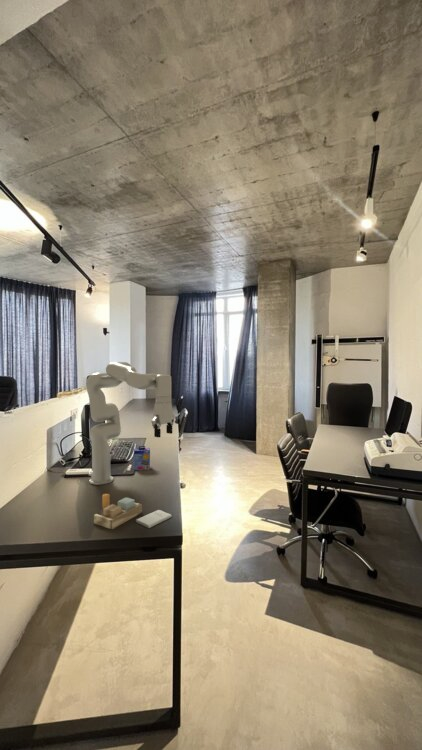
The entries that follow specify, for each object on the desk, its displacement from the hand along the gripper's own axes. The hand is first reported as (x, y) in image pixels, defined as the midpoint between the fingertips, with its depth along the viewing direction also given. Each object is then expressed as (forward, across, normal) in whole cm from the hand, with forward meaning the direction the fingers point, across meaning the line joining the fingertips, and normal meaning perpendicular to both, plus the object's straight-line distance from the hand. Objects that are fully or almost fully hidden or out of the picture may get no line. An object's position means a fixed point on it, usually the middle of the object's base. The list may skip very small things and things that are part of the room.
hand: (163, 435), depth 160 cm
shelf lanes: (+30, +27, -4) cm, 41 cm away
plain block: (+31, +31, -3) cm, 43 cm away
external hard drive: (+31, +21, +10) cm, 39 cm away
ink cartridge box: (+31, -30, -38) cm, 57 cm away
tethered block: (+31, +23, -9) cm, 39 cm away
